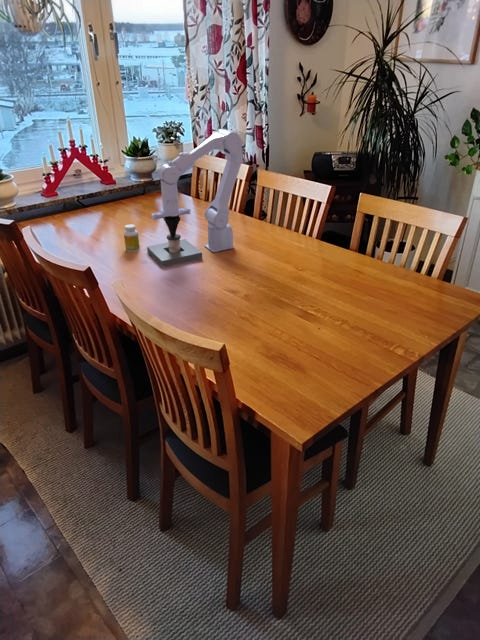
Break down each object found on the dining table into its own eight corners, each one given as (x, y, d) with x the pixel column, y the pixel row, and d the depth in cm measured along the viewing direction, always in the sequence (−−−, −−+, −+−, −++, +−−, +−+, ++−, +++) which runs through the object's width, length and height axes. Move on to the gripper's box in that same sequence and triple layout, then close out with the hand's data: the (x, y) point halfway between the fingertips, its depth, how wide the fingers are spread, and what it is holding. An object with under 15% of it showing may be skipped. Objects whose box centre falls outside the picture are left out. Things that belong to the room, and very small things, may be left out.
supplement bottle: (136, 252, 187) (133, 228, 182) (123, 251, 188) (120, 227, 183) (141, 247, 191) (139, 224, 186) (129, 246, 192) (126, 223, 187)
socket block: (185, 244, 193) (185, 239, 192) (202, 258, 181) (201, 252, 180) (147, 252, 187) (146, 246, 185) (162, 267, 175) (161, 260, 173)
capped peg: (178, 252, 187) (177, 232, 183) (184, 257, 183) (182, 237, 179) (166, 255, 185) (164, 235, 180) (171, 259, 181) (169, 239, 177)
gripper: (155, 205, 167) (158, 242, 174) (193, 199, 173) (194, 235, 180) (148, 200, 172) (151, 236, 179) (185, 194, 178) (187, 229, 185)
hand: (172, 235), depth 180 cm, fingers closed
